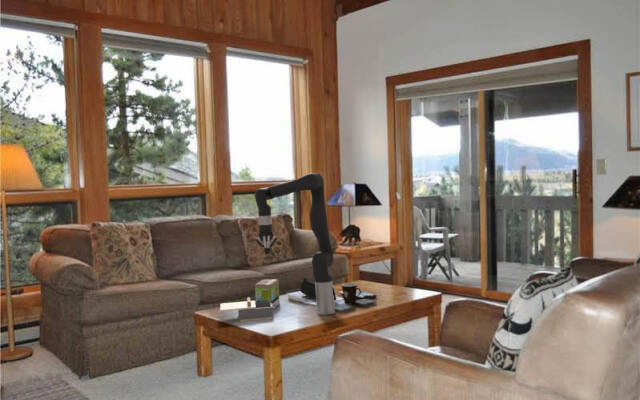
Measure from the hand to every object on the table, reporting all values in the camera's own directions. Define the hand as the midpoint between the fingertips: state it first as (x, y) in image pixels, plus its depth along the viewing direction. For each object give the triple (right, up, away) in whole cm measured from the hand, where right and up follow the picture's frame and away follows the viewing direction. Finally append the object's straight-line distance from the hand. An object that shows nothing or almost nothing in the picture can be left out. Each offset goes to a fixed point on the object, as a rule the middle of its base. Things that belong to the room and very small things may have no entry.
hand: (267, 254), depth 313 cm
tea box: (0, -31, +7) cm, 32 cm away
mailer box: (-5, -32, -13) cm, 35 cm away
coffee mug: (+48, -28, +6) cm, 56 cm away
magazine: (+28, -29, +20) cm, 45 cm away
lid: (-14, -26, -15) cm, 34 cm away
